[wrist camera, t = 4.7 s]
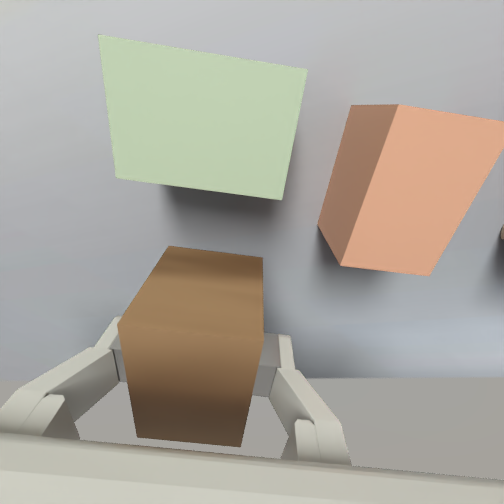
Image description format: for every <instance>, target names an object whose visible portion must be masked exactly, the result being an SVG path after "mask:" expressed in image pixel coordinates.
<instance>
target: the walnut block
mask: <svg viewBox="0 0 504 504" xmlns="http://www.w3.org/2000/svg"><path fill="white" fill-rule="evenodd" d="M117 328H118V333H119V339H120V345H121V350H122V356H123V361H124V367H125V372H126V378H127V384H128V389H129V395H130V400H131V406H132V411H133V417H134V423H135V428H136V434H137V437H138V438H149V439H159V440H170V441H180V442H191V443H201V444H212V445H222V446H233V447H241V443H242V438H243V434H244V429H245V425H246V420H247V416H248V411H249V407H250V402H251V397H252V393H253V388H254V384H255V379H256V375H257V370H258V366H259V361H260V356H261V352H262V347H263V343H264V318H263V260H262V258H261V257H253V256H245V255H237V254H229V253H222V252H214V251H206V250H198V249H190V248H182V247H174V246H168V248H167V249H166V251H165V252H164V254H163V255H162V257H161V258H160V260H159V261H158V263H157V264H156V266H155V267H154V269H153V270H152V272H151V273H150V275H149V277H148V278H147V280H146V281H145V283H144V284H143V286H142V287H141V289H140V290H139V292H138V293H137V295H136V296H135V298H134V299H133V301H132V302H131V304H130V305H129V307H128V308H127V310H126V311H125V313H124V314H123V316H122V317H121V319H120V320H119V322H118V323H117Z"/></svg>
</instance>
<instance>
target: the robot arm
mask: <svg viewBox="0 0 504 504" xmlns="http://www.w3.org/2000/svg"><path fill="white" fill-rule="evenodd" d="M121 317H122V316H119V315H118V316H116V317H115V318H114V319H113V321H112V322H111V323H110V325H109V326H108V328H107V329H106V331H105V332H104V333H103V335H102V336H101V338H100V339H99V341H98V342H97V343H96V345H95V346H94V348H93V347H89V348H88V349H86V350H84V351H82V352H81V353H79V354H77V355H76V356H74V357H72V358H70V359H69V360H67V361H65V362H64V363H62V364H60V365H58V366H57V367H55V368H53V369H52V370H50V371H48V372H46V373H45V374H43V375H41V376H40V377H38V378H36V379H34V380H33V381H31V382H29V383H28V384H26V385H24V386H23V387H21V388H19V389H17V390H16V392H15V393H14V394H13V395H12V396H11V397H10V399H9V400H8V401H7V402H6V403H5V404H4V405H3V407H2V408H1V409H0V504H504V480H497V479H487V478H476V477H465V476H456V475H455V476H454V475H445V474H435V473H424V472H413V471H403V470H391V469H380V468H371V467H360V466H352V465H351V460H350V456H349V453H348V449H347V445H346V441H345V437H344V433H343V429H342V425H341V423H340V421H339V420H338V419H337V417H336V416H335V415H334V414H333V412H332V411H331V410H330V409H329V407H328V406H327V405H326V404H325V402H324V401H323V400H322V399H321V397H320V396H319V395H318V394H317V392H316V391H315V390H314V389H313V387H312V386H311V385H310V383H309V382H308V381H307V380H306V378H305V377H304V376H303V375H302V373H301V372H300V371H299V370H295V364H294V357H293V350H292V343H291V337H290V335H283V334H274V333H265V332H264V343H263V347H262V352H261V356H260V361H259V366H258V370H257V375H256V379H255V384H254V388H253V393H252V395H256V396H263V397H269V400H270V402H271V403H272V405H273V407H274V409H275V411H276V413H277V415H278V417H279V418H280V420H281V422H282V424H283V426H284V428H285V430H286V432H287V434H288V435H289V438H288V441H287V443H286V446H285V448H284V451H283V453H282V456H281V459H274V458H265V457H255V456H254V457H253V456H243V455H233V454H223V453H213V452H201V451H192V450H181V449H170V448H160V447H150V446H139V445H128V444H118V443H107V442H97V441H86V440H80V437H79V434H78V431H77V428H76V426H75V423H74V422H75V421H76V420H77V419H79V418H80V416H82V415H83V414H84V413H85V412H87V411H88V410H89V409H90V408H91V407H92V406H93V405H94V404H95V403H97V402H98V401H99V400H100V399H101V398H102V397H104V396H105V395H106V394H107V393H108V392H109V391H110V390H112V389H113V388H114V387H115V386H116V385H117V384H118V383H119V382H127V378H126V372H125V367H124V361H123V356H122V350H121V345H120V339H119V333H118V328H117V323H118V322H119V320H120V319H121Z"/></svg>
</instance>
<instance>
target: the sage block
mask: <svg viewBox="0 0 504 504" xmlns="http://www.w3.org/2000/svg"><path fill="white" fill-rule="evenodd" d="M98 40H99V48H100V55H101V63H102V71H103V79H104V87H105V95H106V103H107V111H108V119H109V127H110V135H111V142H112V150H113V158H114V166H115V174H116V178H118V179H126V180H133V181H141V182H149V183H156V184H164V185H171V186H179V187H186V188H194V189H201V190H209V191H216V192H224V193H231V194H239V195H246V196H254V197H261V198H269V199H276V200H282V197H283V192H284V187H285V182H286V177H287V172H288V167H289V162H290V157H291V152H292V147H293V142H294V137H295V132H296V127H297V122H298V117H299V112H300V107H301V102H302V97H303V92H304V87H305V82H306V77H307V72H308V69H302V68H296V67H290V66H284V65H278V64H272V63H266V62H260V61H254V60H248V59H242V58H236V57H230V56H224V55H218V54H212V53H206V52H200V51H194V50H188V49H182V48H176V47H170V46H164V45H158V44H152V43H146V42H140V41H134V40H128V39H122V38H116V37H110V36H104V35H98Z"/></svg>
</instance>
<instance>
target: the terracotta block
mask: <svg viewBox="0 0 504 504" xmlns="http://www.w3.org/2000/svg"><path fill="white" fill-rule="evenodd" d="M503 148H504V122H503V121H497V120H491V119H485V118H479V117H473V116H467V115H460V114H454V113H448V112H442V111H436V110H430V109H424V108H418V107H411V106H405V105H399V104H395V105H351V108H350V112H349V115H348V119H347V122H346V126H345V129H344V133H343V136H342V140H341V143H340V147H339V150H338V154H337V157H336V161H335V164H334V168H333V171H332V175H331V178H330V182H329V185H328V189H327V192H326V196H325V199H324V203H323V206H322V210H321V213H320V217H319V220H318V224H317V225H318V226H319V228H320V230H321V232H322V234H323V235H324V237H325V239H326V241H327V243H328V244H329V246H330V248H331V250H332V252H333V254H334V255H335V257H336V259H337V261H338V263H339V264H340V266H347V267H356V268H364V269H372V270H381V271H389V272H398V273H406V274H415V275H423V276H429V275H430V274H431V272H432V270H433V269H434V267H435V265H436V263H437V262H438V260H439V258H440V257H441V255H442V253H443V251H444V250H445V248H446V246H447V245H448V243H449V241H450V239H451V238H452V236H453V234H454V232H455V231H456V229H457V227H458V226H459V224H460V222H461V220H462V219H463V217H464V215H465V214H466V212H467V210H468V208H469V207H470V205H471V203H472V201H473V200H474V198H475V196H476V195H477V193H478V191H479V189H480V188H481V186H482V184H483V183H484V181H485V179H486V177H487V176H488V174H489V172H490V171H491V169H492V167H493V165H494V164H495V162H496V160H497V158H498V157H499V155H500V153H501V152H502V150H503Z"/></svg>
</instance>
